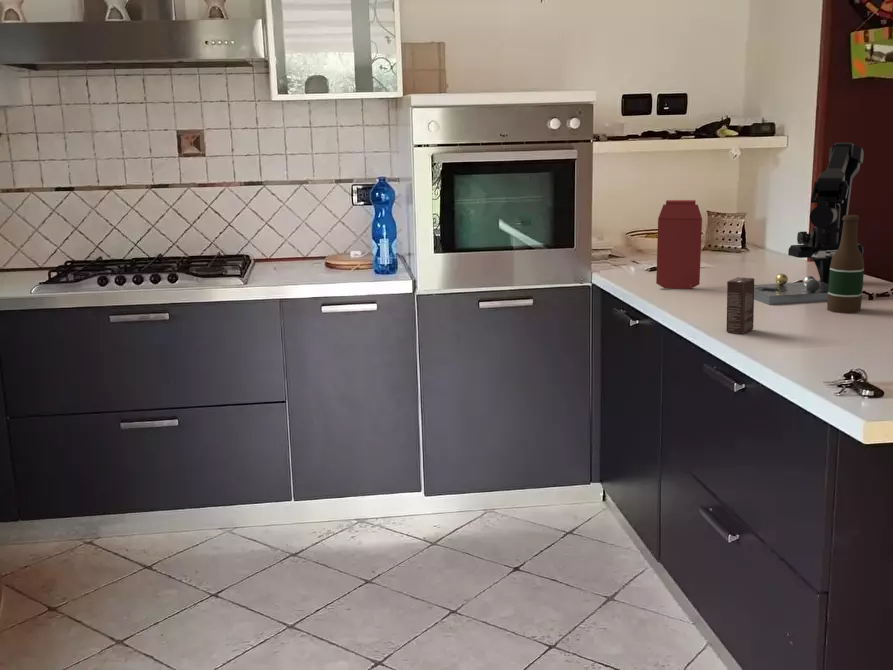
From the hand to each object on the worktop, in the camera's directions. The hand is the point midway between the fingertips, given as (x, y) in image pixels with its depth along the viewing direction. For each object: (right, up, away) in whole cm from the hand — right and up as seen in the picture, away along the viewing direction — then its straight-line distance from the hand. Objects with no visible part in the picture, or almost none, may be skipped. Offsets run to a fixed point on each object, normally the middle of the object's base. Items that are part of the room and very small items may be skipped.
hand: (823, 281), depth 244 cm
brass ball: (-10, +1, +4) cm, 11 cm away
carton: (-35, -1, +19) cm, 39 cm away
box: (-35, -14, -36) cm, 52 cm away
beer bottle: (-3, -9, -19) cm, 21 cm away
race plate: (-8, -4, 0) cm, 9 cm away
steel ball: (-4, 0, 0) cm, 4 cm away
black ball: (-5, -1, -6) cm, 8 cm away
